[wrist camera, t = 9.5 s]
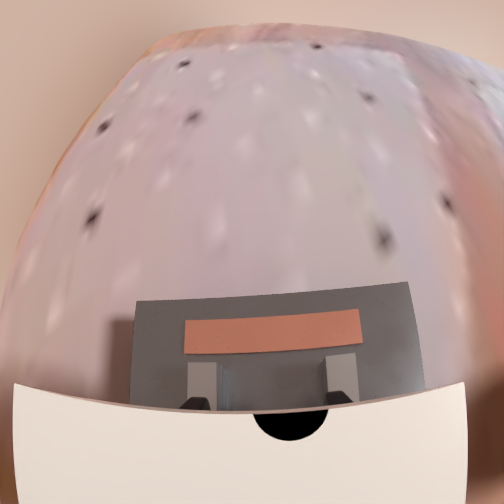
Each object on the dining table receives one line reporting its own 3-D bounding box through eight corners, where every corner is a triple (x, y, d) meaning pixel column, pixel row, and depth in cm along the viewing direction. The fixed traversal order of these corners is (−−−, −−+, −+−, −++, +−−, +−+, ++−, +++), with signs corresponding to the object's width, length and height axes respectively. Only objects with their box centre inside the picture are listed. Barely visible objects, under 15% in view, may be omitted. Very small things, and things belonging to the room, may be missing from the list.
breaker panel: (393, 586, 7) (419, 625, 2) (170, 591, 8) (135, 629, 4) (389, 304, 15) (421, 263, 11) (161, 320, 16) (117, 285, 12)
